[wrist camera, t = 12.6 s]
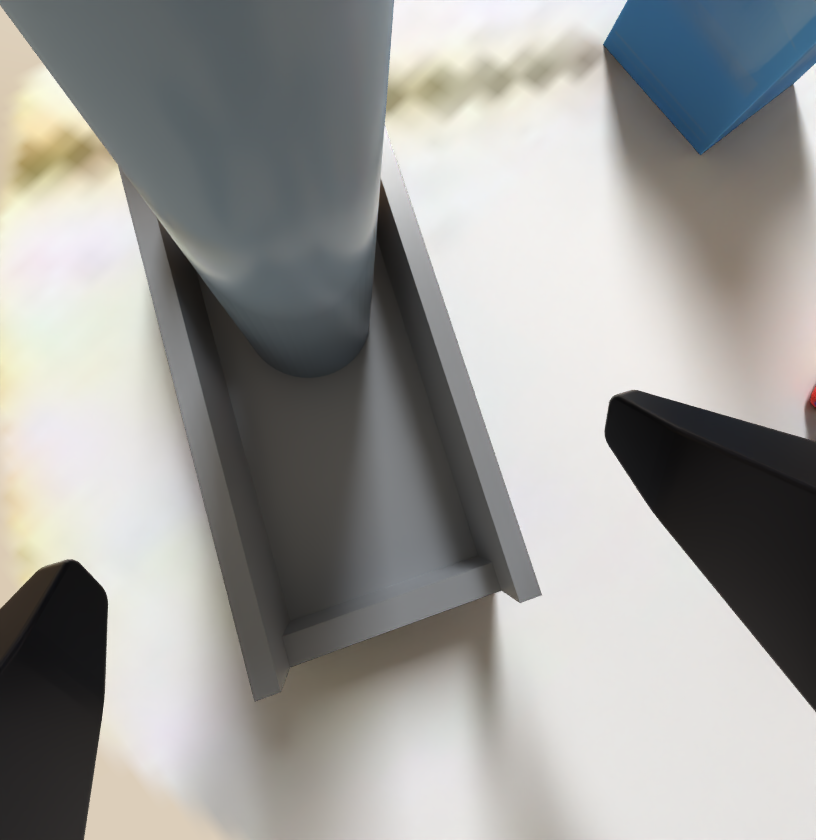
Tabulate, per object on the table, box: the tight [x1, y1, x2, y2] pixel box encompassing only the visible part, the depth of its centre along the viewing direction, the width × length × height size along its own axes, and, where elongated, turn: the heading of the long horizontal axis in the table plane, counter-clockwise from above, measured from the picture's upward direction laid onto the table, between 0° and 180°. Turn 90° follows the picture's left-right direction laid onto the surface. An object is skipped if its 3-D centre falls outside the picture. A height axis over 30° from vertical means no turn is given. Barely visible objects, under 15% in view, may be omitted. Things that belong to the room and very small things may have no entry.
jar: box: [0, 0, 394, 378], centre depth 9 cm, size 4×4×13 cm
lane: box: [118, 126, 542, 701], centre depth 13 cm, size 16×7×6 cm, turn 18°
